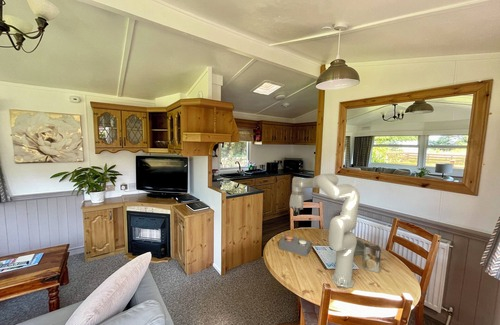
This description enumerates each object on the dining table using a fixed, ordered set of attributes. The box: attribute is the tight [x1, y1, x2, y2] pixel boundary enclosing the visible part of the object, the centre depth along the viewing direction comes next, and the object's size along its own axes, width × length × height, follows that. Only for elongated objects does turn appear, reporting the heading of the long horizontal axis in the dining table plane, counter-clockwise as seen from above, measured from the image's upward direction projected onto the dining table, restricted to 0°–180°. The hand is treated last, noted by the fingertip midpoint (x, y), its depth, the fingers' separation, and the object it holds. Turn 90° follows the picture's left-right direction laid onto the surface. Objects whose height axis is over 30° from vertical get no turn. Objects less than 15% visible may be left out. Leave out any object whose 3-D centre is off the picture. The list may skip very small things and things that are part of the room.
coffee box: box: [362, 242, 382, 273], centre depth 142 cm, size 9×6×16 cm
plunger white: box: [299, 239, 306, 246], centre depth 162 cm, size 6×6×6 cm
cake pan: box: [354, 239, 364, 256], centre depth 170 cm, size 25×25×4 cm
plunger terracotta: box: [286, 234, 294, 242], centre depth 168 cm, size 6×6×6 cm
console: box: [278, 234, 313, 258], centre depth 165 cm, size 14×22×6 cm, turn 60°
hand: (295, 215), depth 166 cm, fingers closed
